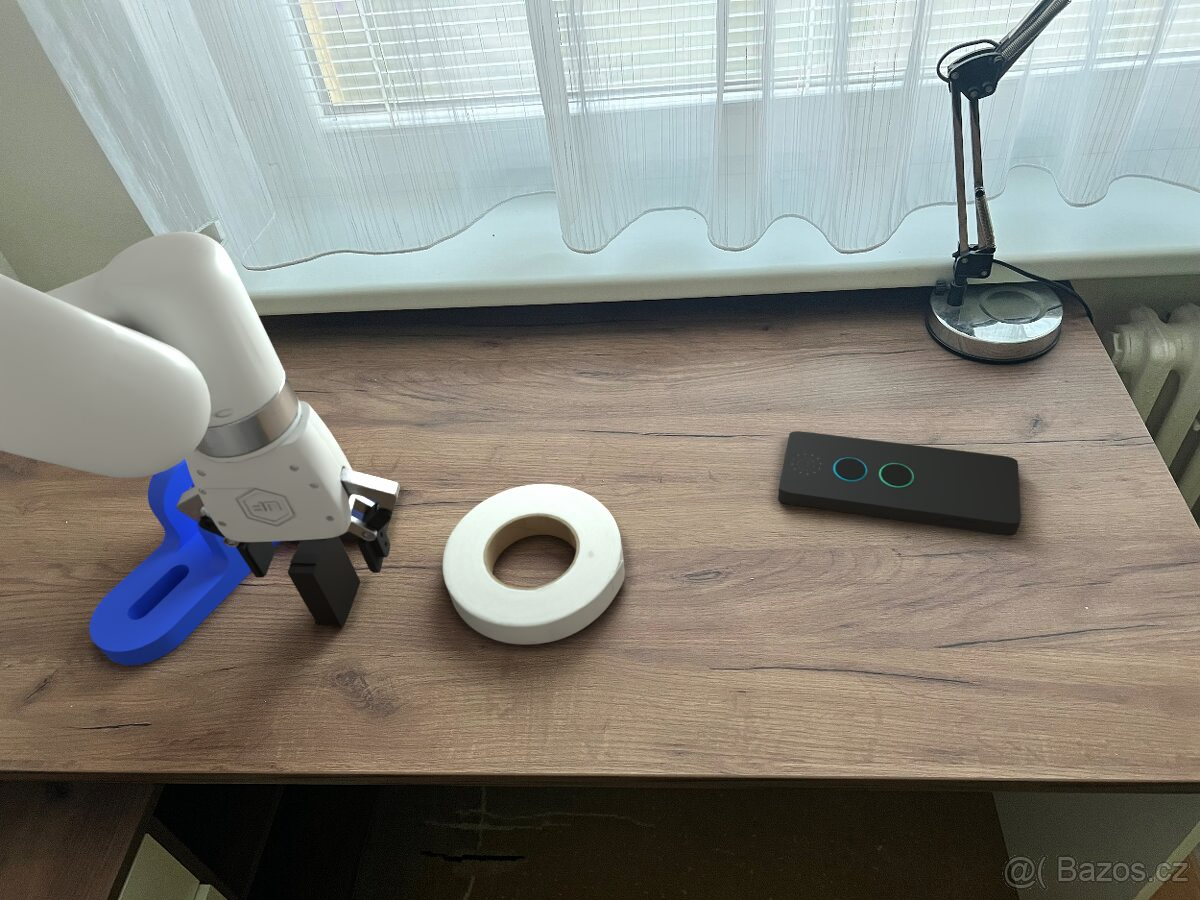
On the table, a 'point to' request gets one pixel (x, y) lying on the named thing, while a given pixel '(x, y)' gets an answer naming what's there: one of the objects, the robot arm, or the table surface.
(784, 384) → the table surface
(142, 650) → the bracket
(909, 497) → the smart home device
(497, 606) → the tape roll
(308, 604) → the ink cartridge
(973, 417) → the table surface
